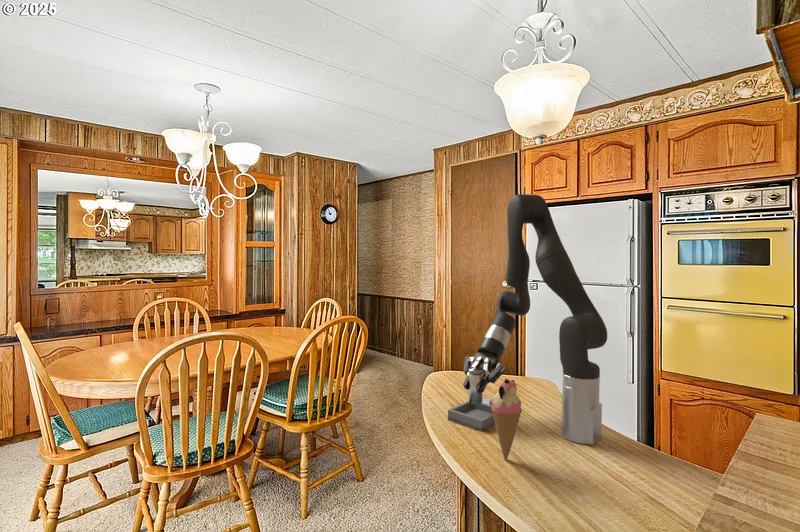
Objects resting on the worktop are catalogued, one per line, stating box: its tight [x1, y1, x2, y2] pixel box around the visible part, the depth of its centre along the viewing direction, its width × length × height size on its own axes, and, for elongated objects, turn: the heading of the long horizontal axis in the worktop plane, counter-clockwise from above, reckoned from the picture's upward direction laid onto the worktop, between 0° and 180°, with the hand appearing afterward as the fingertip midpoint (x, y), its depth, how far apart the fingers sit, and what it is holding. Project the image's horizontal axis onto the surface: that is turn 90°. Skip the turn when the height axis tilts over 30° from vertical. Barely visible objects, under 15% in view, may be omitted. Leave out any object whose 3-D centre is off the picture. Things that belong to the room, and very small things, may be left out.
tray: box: [447, 400, 495, 432], centre depth 127 cm, size 12×12×3 cm
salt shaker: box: [468, 367, 484, 404], centre depth 127 cm, size 5×5×10 cm
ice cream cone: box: [491, 378, 523, 461], centre depth 102 cm, size 8×7×20 cm
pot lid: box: [482, 398, 493, 406], centre depth 135 cm, size 10×10×6 cm
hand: (472, 390), depth 125 cm, fingers closed on salt shaker, 4 cm apart
